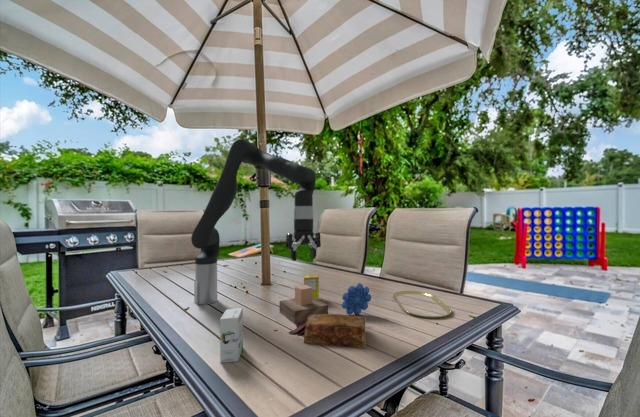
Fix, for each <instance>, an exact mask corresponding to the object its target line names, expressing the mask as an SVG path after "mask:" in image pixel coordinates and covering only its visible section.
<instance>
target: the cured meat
mask: <svg viewBox="0 0 640 417" xmlns="http://www.w3.org/2000/svg"><path fill="white" fill-rule="evenodd" d="M295 326H296V328H294V329H293V330H290V331H288V334H289V335H297V337H298V336H301V335H302V334H303V333H304V334H303V343H304V344H311V345H312V344H313V345H319V346H328V347H347V348H349V347H350V348H357V349H359V348H360V349H366V316H356V315H350V314H339V313H328V314H316V315H309V316H308V318H307V320H306V321H301V322H298V323H297V324H295Z"/></svg>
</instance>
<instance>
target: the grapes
mask: <svg viewBox="0 0 640 417" xmlns="http://www.w3.org/2000/svg"><path fill="white" fill-rule="evenodd" d="M341 298H342V300H343V301H342V304H341V307H342V308H341V309H343V310H344V309H345V313H346V315H352V314H354V316H356V315H360V314H361V313H362V311H366V310H367V309H368V308H369V302H371V300H372V295H371V294H370V288H369V287H368V286H364V285H363V284H362V283H357V284H356V285H355V286H354V285H350V286H349V287H348V288H347V292H344V293H343V294H342V296H341Z"/></svg>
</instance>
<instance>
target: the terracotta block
mask: <svg viewBox="0 0 640 417" xmlns="http://www.w3.org/2000/svg"><path fill="white" fill-rule="evenodd" d="M294 299H295V302H296V303H298V304H299V305H306V304H311V303H312V287H310V286H307V285H304V284H302V285H297V286H294Z"/></svg>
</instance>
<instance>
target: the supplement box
mask: <svg viewBox="0 0 640 417" xmlns="http://www.w3.org/2000/svg"><path fill="white" fill-rule="evenodd" d="M319 280H320V279H319V274H305V276H304V278H303V282H304V283H303V285H307V286H310V287H312V297H314V298H316V299H318V300H320V282H319Z"/></svg>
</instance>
